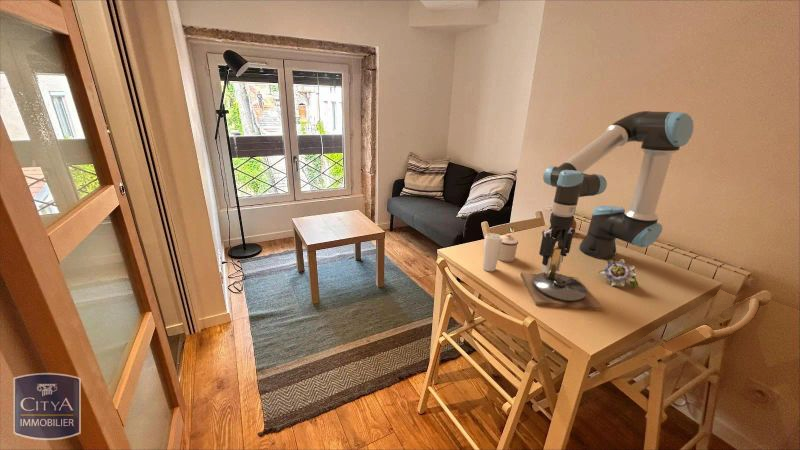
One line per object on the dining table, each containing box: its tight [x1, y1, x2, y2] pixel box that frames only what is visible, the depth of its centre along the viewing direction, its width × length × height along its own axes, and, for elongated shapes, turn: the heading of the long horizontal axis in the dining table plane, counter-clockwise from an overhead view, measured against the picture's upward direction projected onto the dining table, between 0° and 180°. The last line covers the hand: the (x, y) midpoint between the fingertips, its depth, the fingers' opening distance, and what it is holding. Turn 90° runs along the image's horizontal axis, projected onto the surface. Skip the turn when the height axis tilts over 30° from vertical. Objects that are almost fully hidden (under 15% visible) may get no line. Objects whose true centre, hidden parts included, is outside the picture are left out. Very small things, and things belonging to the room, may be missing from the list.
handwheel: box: [533, 245, 587, 302], centre depth 114 cm, size 18×18×13 cm
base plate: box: [520, 272, 603, 311], centre depth 117 cm, size 22×20×2 cm
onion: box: [570, 218, 577, 230], centre depth 173 cm, size 10×10×10 cm
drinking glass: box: [482, 232, 503, 272], centre depth 129 cm, size 7×7×15 cm
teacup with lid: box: [497, 233, 519, 263], centre depth 141 cm, size 12×9×12 cm
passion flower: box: [598, 258, 639, 289], centre depth 124 cm, size 11×11×12 cm
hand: (550, 270), depth 121 cm, fingers open, 5 cm apart
